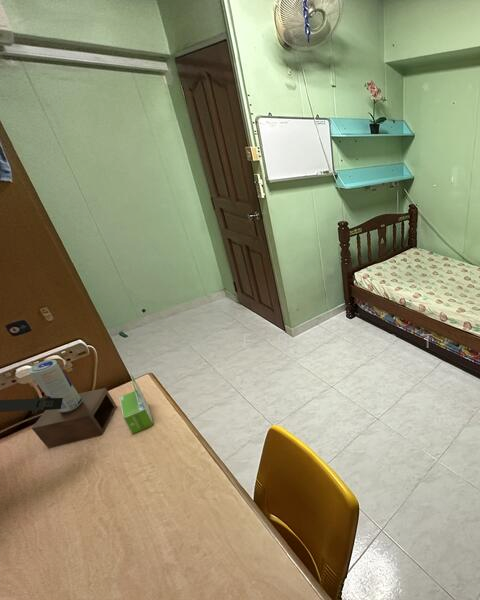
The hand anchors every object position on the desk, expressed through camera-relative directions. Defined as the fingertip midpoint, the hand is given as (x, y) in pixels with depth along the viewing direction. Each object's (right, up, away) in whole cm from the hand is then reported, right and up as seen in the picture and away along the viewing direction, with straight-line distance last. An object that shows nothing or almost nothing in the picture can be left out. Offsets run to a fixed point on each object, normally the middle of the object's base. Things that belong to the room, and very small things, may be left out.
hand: (29, 405), depth 77 cm
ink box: (+14, -10, +17) cm, 24 cm away
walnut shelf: (-1, -11, +14) cm, 18 cm away
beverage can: (-1, -4, +10) cm, 11 cm away
